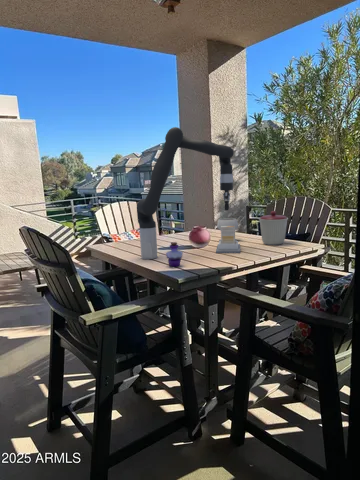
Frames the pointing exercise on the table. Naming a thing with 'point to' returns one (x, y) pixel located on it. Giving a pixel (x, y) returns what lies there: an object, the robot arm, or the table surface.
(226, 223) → the chalice
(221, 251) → the grey pedestal stand
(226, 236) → the supplement box
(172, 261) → the potion bottle
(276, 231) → the canister
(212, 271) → the table surface
